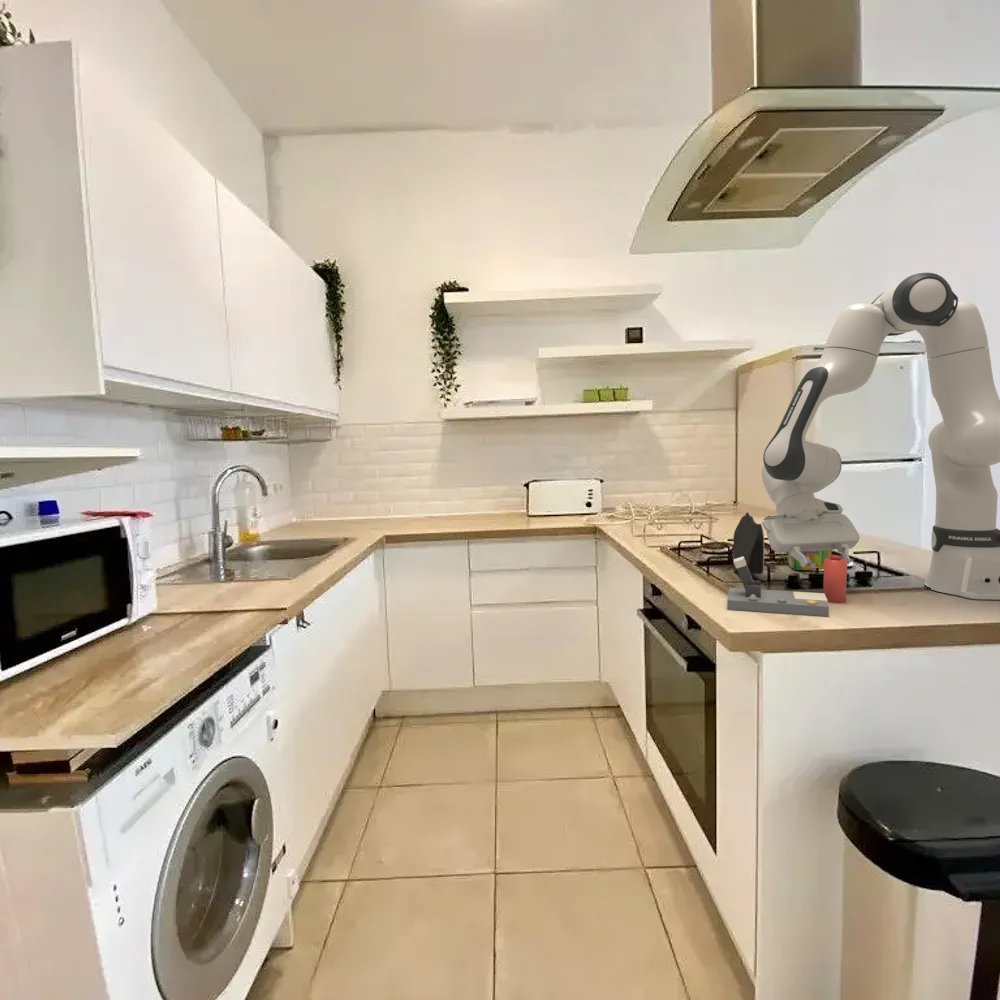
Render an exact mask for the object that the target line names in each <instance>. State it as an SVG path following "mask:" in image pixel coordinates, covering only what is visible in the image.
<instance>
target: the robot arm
mask: <svg viewBox="0 0 1000 1000" xmlns="http://www.w3.org/2000/svg"><path fill="white" fill-rule="evenodd" d="M835 320H836V321H835V322H834V324H833V326H832V328H831V331H830V333H829V335H828V338H827V339H826V340H827V341H826V343H825V345H824V349H823V352H822V354H821V357H820V358H819V360H818V361H817V364H816V365H815V366H814V367H813V368H811V369H809V370H808V371H807V372H806V373H805V374H804V376H803V378H802V379H801V381H800V383H799V384H798V386H797V388H796V390H795V392H794V394H793V397H792V399H791V400H790V403H789V404H788V407H787V409H786V411H785V413H784V416H783V418H782V420H781V421H780V423H779V426H778V428H777V430H776V432H775V434H774V435H773V437H772V438H771V439H770V441H769V442H768V444H767V446H766V447H765V448H764V452H763V457H762V459H763V460H762V461H763V466H762V468H761V479H762V482H763V485H764V488H765V490H766V492H767V495H768V497H769V499H770V500H771V501H772V502H773V503H774V505H775V509H776V513H777V515H766V516H765V518H763V519H762V522H761V524H762V527H763V529H764V530H765V531H766V535H767V540H768V543H769V546H770V548H771V550H772V551H774V552H775V553H777V554H778V553H779V554H781V553H788V552H790V554H791V556H793V557H794V558H795V559H796V560H798V561H799V562H800V564H801V566H802V567H809V566H810V565H811V560H810V558H809V556H804V555H803V554H802V553H801V552H800V551H817V550H832V551H833V550H836V551H838V553H840V556H841V558H843V559H846V560H847V565H849V564H850V563H851V561H852V560H851V558H850V556H849V550H850V549H853V548H854V547H855V546H856V545H857V544H858V543H859V541H860V534H859V532H858V530H857V529H856V527H855V526H854V524H853V523H852V521H851V520H850V518H849V517H848V516H846V515H845V514H843V510H844V509H843V507H842V505H840V504H837V503H836V502H835V503H834V502H831V501H826V500H822V499H819V498H816V497H815V495H814V493H818V492H820V491H821V490H823V489H825V488H826V487H828V486H830V485H831V484H832V483H833V482H835V481H836V480H837V479H838V477H839V476H840V474H841V472H842V465H843V463H842V457H841V456H840V455H841V454H839V452H838V451H837V450H836V449H835V448H833V447H830V446H827V445H824V444H820V443H816V442H811V441H807V440H806V435H807V433H808V430H809V428H810V427H811V424H812V421H813V420H814V417H815V416H816V413H817V412H818V410H819V407H820V406H821V405H822V403H823V402H824V401H826V400H827V399H828V398H830V397H832V396H837V395H843V394H849V393H851V392H854V391H856V390H858V389H860V388H861V387H863V386H865V385H866V383H868V382H869V380H870V378H871V376H872V374H873V373H874V370H875V368H876V367H875V366H876V364H877V361H878V358H879V355H880V351H881V347H882V345H883V343H884V341H885V340H886V338H887V337H889V336H890V337H891V336H892V337H893V336H900V335H903V334H906V333H910V332H913V331H914V332H918V334H919V335H920V336H921V337H922V339H923V342H924V345H925V350H926V351H925V353H926V359H927V360H926V361H927V367H928V368H927V369H928V376H929V382H930V389H931V394H932V397H933V398H934V400H935V402H936V404H937V407H938V409H939V412H940V414H941V416H942V417H941V418H942V421H940V422H939V423H938V424H936V425H935V426H934V427H933V428H932V430H931V431H930V433H929V435H928V439H927V440H928V441H927V443H928V447H929V449H930V453H931V454H930V455H931V462H932V463H931V464H932V470H933V476H934V483H935V484H934V485H935V493H936V494H935V497H936V498H935V520H934V521H935V522H934V523H935V524H934V525H933V526H932V531H931V542H930V543H931V544H930V545H931V546H930V547H931V549H932V554H931V559H930V560H931V561H930V564H929V569H928V572H927V575H926V579H925V581H924V583H926V584H927V585H928V586H929V587H930V588H931V589H930V590H932V591H936V592H940V593H943V594H948V595H953V596H959V597H962V598H967V599H971V600H998V601H999V600H1000V529H999V528H997V515H998V498H999V497H998V496H999V495H998V490H997V489H996V486H995V485H994V481H993V475H992V471H991V466H993V465H996V464H999V463H1000V397H999V394H998V392H997V388H996V386H995V381H994V375H993V368H992V360H991V355H990V347H989V340H988V336H987V331H986V328H985V324H984V321H983V319H982V316H981V313H980V310H979V308H978V306H977V305H975V304H974V303H972V302H969V301H963V300H959V297H958V296H957V295H956V294H955V293H954V291H953V290H952V287H951V285H950V284H949V282H948V281H947V280H946V279H945V278H944V277H943V276H941V275H940V274H938V273H933V272H919V273H916V274H911V275H910V276H907V277H906V278H904V279H902V280H900V281H898V282H895V283H894V284H892V285H891V286H890V287H889V288H888V289H886V291H884V292H882V293H881V294H880V295H878V296H877V297H876V298H875V299H874V300H873V301H872V302H871V303H868V302H858V303H857V302H856V303H852V304H850V305H847V306H846V307H845V308H843V309H842V310H841V311H840V313H839V315H838V316H837V318H836V319H835Z"/></svg>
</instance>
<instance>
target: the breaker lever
mask: <svg viewBox="0 0 1000 1000" xmlns="http://www.w3.org/2000/svg"><path fill="white" fill-rule="evenodd" d="M734 564H735V567H736V569H737V571H738V572H737V573H738V575H739V577H740V580H741V583H742V585H743V589H745V590H746V585H755V583H754V581H755V580H754V579H753V577H752V574H750V571H749V569H748V566H747V564H746V561H745V558H744V556H743V557H740V558H737V559H734ZM753 580H754V581H753Z"/></svg>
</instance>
